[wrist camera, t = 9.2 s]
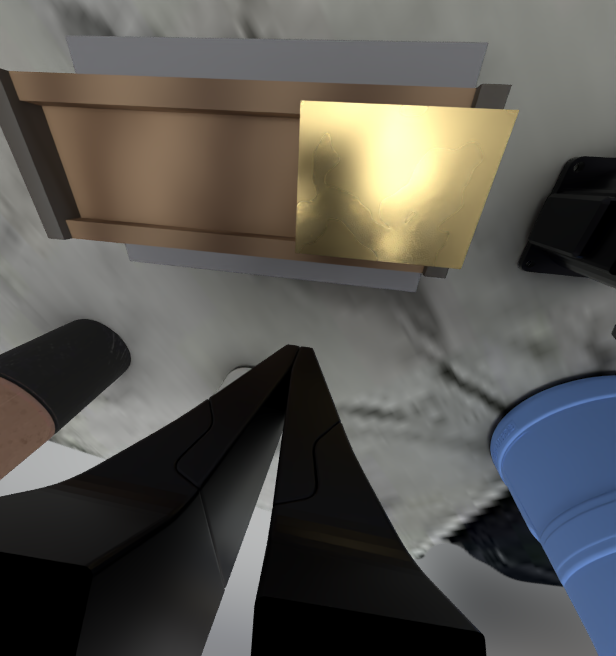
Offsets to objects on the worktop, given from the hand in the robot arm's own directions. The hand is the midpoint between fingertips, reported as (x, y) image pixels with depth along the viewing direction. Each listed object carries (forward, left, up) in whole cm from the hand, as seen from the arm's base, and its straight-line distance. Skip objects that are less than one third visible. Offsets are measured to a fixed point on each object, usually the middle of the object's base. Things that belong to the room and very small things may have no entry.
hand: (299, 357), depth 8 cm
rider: (-2, -5, -8) cm, 10 cm away
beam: (+5, -5, -8) cm, 11 cm away
